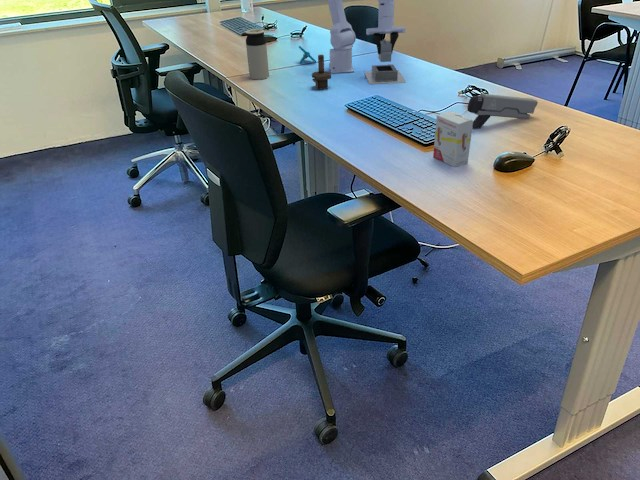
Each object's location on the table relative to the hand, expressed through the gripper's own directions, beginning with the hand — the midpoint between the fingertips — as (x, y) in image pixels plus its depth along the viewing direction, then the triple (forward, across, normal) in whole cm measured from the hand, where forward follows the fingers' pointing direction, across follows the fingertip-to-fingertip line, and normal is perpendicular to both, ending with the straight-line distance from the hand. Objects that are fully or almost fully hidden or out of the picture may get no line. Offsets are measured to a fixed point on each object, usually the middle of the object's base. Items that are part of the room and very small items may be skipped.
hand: (384, 53), depth 200 cm
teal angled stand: (+10, -30, +30) cm, 43 cm away
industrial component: (+10, -24, -9) cm, 28 cm away
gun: (+10, +27, -56) cm, 63 cm away
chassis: (+9, 0, 0) cm, 9 cm away
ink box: (+10, +5, -81) cm, 82 cm away
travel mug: (+10, -50, +10) cm, 52 cm away
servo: (+2, 0, 0) cm, 3 cm away
